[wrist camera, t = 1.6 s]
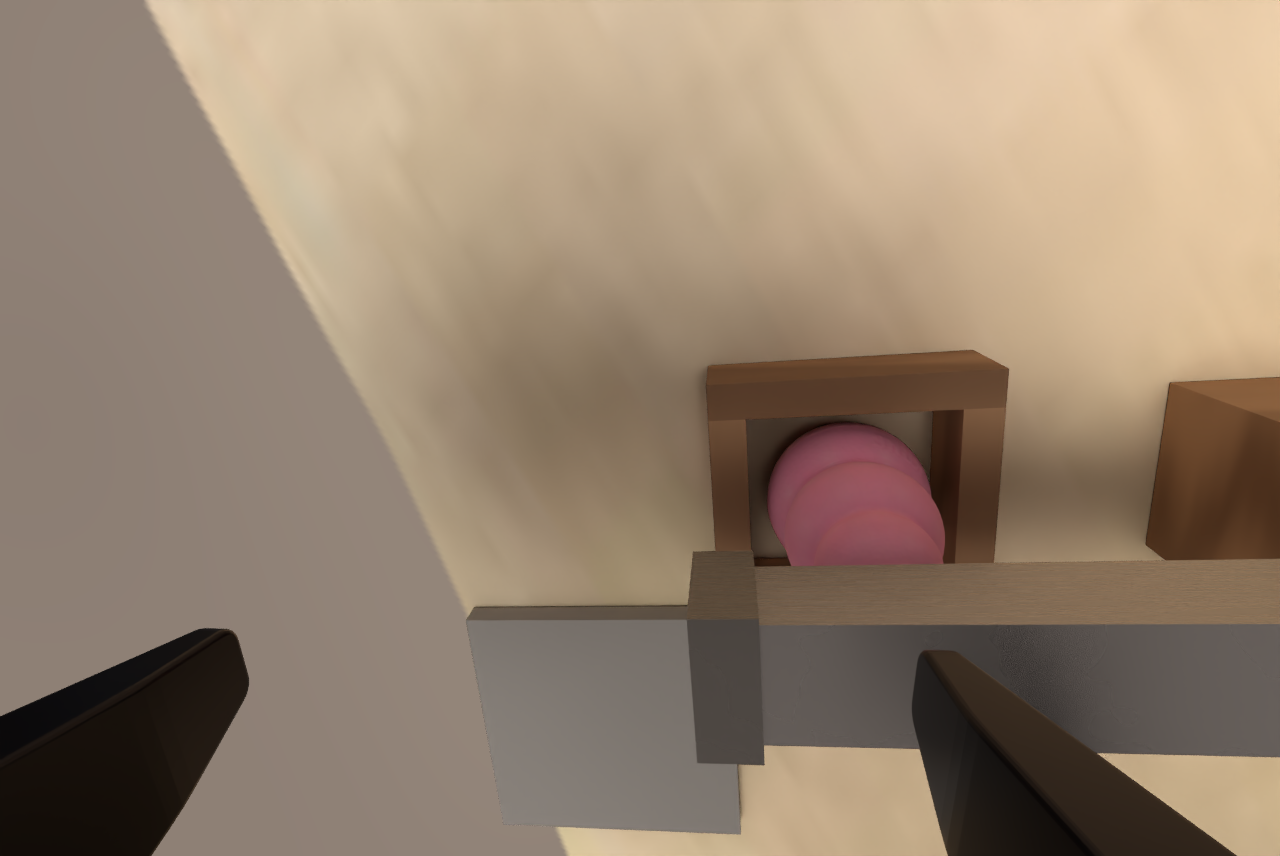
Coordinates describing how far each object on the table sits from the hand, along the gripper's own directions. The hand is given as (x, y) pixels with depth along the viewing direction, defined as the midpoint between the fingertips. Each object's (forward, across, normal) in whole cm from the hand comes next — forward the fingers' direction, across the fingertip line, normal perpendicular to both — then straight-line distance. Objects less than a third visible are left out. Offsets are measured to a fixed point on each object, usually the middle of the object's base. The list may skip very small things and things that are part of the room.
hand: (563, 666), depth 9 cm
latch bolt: (+5, -9, +2) cm, 10 cm away
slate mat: (+12, +2, +12) cm, 17 cm away
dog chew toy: (+12, -6, +3) cm, 14 cm away
